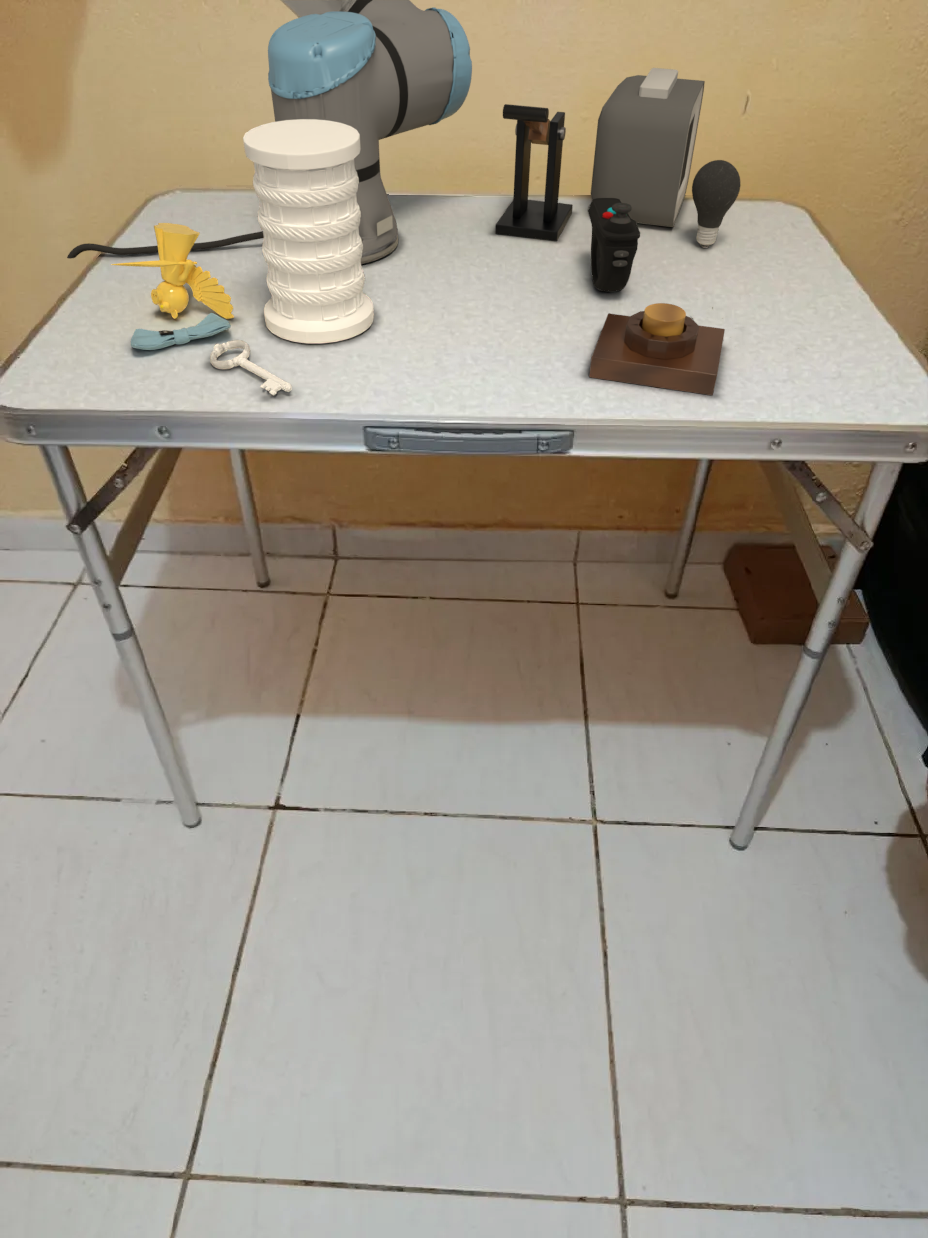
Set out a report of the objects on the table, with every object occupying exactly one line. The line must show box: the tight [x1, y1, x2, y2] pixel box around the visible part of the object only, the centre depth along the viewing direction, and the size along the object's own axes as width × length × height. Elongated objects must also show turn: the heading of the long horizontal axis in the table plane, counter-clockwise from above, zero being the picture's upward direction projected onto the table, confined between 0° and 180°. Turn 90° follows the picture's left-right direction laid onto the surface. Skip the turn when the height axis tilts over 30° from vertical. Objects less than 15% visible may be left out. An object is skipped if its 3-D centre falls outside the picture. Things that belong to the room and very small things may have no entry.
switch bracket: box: [494, 111, 573, 242], centre depth 115 cm, size 10×8×13 cm
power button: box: [642, 302, 687, 336], centre depth 89 cm, size 4×4×2 cm
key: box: [209, 339, 293, 396], centre depth 89 cm, size 12×1×4 cm
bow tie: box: [130, 312, 232, 351], centre depth 94 cm, size 10×2×5 cm
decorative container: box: [242, 119, 375, 344], centre depth 92 cm, size 12×12×18 cm
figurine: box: [110, 222, 235, 320], centre depth 95 cm, size 12×12×9 cm
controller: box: [587, 198, 641, 293], centre depth 103 cm, size 4×12×10 cm, turn 3°
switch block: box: [588, 310, 726, 396], centre depth 91 cm, size 12×10×4 cm
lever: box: [502, 103, 551, 146], centre depth 108 cm, size 12×5×2 cm, turn 164°
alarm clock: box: [590, 67, 706, 228], centre depth 119 cm, size 16×11×16 cm
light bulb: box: [691, 159, 741, 249], centre depth 111 cm, size 6×6×10 cm
